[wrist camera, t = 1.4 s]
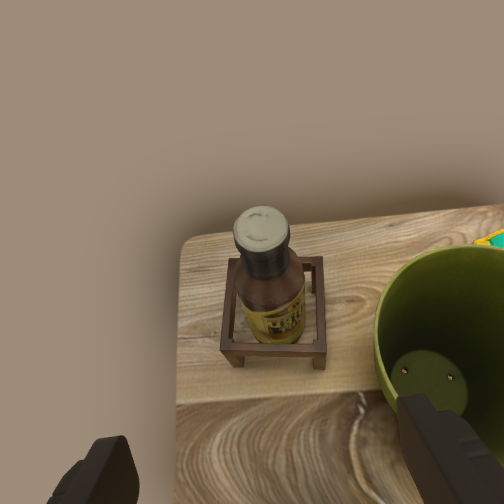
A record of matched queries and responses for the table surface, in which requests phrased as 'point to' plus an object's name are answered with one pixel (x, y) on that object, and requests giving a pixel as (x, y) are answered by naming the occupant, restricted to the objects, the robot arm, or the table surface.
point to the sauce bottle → (269, 276)
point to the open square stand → (239, 350)
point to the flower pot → (447, 336)
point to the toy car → (492, 239)
